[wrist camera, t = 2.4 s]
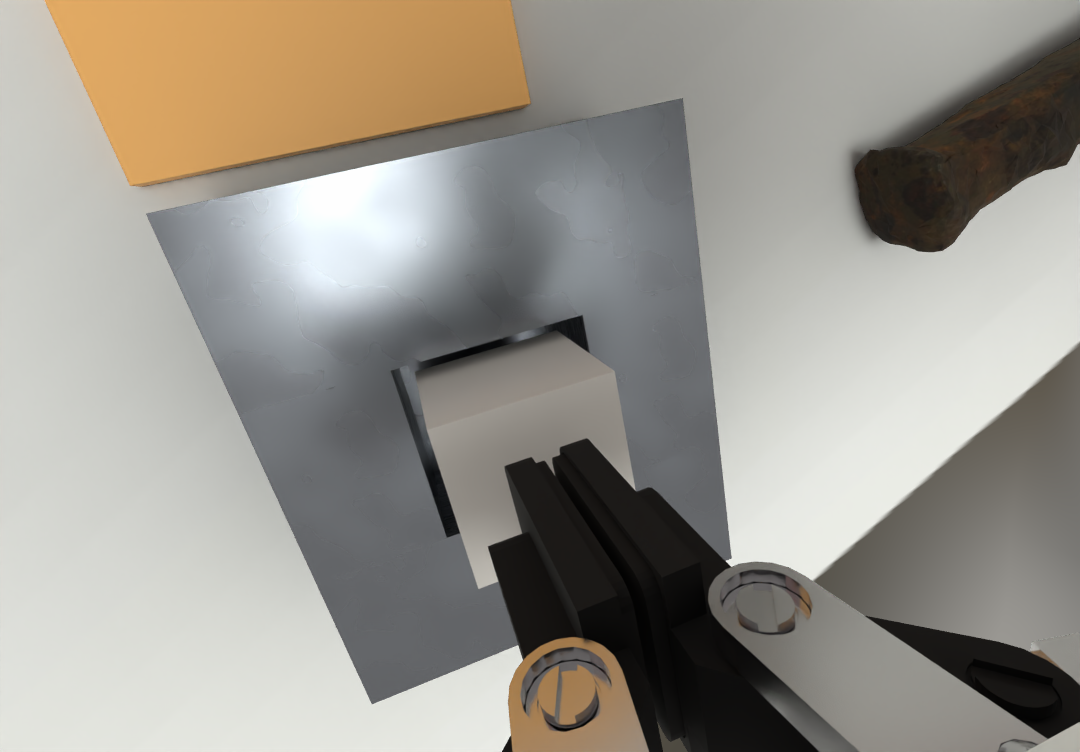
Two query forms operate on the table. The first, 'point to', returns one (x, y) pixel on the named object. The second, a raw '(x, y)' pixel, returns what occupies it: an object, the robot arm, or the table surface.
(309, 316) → the breaker box
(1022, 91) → the hand tool
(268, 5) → the pad
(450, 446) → the button
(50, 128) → the table surface
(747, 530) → the table surface
